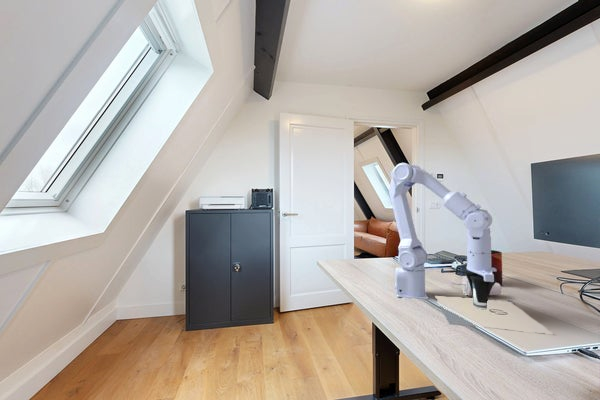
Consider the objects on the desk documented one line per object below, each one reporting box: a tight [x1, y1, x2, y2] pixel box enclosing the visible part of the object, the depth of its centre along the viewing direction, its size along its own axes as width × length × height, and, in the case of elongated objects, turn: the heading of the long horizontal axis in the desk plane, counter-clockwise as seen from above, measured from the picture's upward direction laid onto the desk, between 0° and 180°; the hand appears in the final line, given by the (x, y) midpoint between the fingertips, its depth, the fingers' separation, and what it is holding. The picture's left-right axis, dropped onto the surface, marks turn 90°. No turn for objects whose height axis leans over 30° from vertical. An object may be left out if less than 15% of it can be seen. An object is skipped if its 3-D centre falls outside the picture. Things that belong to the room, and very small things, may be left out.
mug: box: [491, 249, 503, 287], centre depth 103 cm, size 10×14×12 cm
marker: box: [472, 284, 487, 310], centre depth 75 cm, size 3×3×8 cm
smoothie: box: [451, 275, 502, 297], centre depth 87 cm, size 6×6×14 cm
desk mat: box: [438, 299, 514, 328], centre depth 75 cm, size 22×22×1 cm
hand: (479, 299), depth 75 cm, fingers closed on marker, 3 cm apart
